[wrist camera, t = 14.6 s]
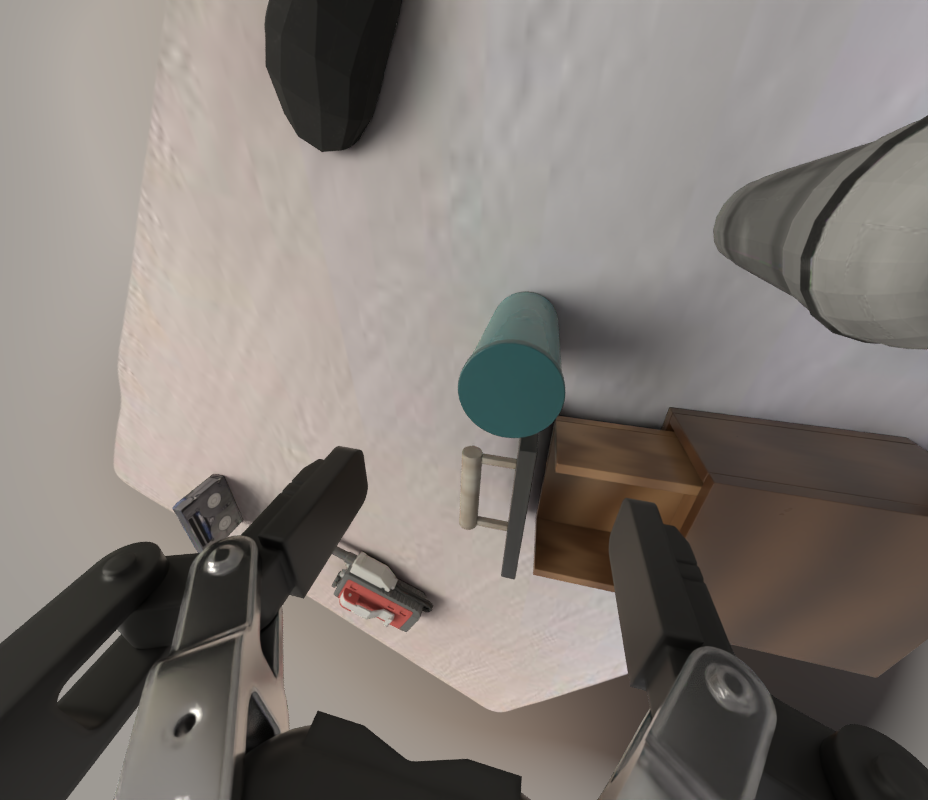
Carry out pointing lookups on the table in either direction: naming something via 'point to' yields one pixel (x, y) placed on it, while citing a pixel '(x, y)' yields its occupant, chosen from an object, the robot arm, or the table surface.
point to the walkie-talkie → (377, 592)
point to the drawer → (583, 494)
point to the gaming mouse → (329, 64)
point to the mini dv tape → (208, 512)
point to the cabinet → (810, 537)
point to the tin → (515, 370)
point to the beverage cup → (843, 237)
